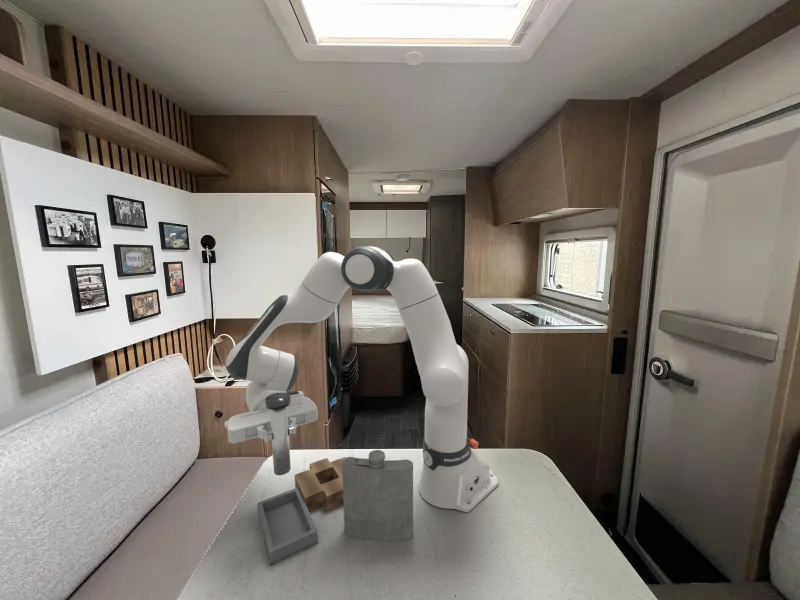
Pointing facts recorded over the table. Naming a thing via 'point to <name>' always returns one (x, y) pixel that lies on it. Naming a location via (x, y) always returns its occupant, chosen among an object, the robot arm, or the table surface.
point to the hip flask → (378, 498)
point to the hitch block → (326, 492)
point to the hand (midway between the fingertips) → (281, 435)
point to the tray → (286, 525)
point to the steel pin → (279, 431)
